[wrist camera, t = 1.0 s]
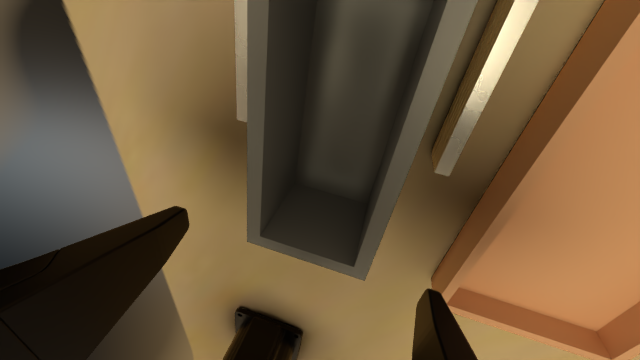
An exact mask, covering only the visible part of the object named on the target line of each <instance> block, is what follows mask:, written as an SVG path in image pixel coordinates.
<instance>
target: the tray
mask: <svg viewBox="0 0 640 360" xmlns="http://www.w3.org/2000/svg"><path fill="white" fill-rule="evenodd" d="M431 281H432V289H433V290H436V291H438V292H440V293H441V294H442V296H443V298H444V300H445V301H446V303H447V305H448V307H449V309H450V310H451V312H452V313H454V314H457V315H460V316H463V317H466V318H469V319H472V320H475V321H478V322H481V323H484V324H487V325H490V326H493V327H496V328H499V329H502V330H505V331H508V332H511V333H514V334H517V335H520V336H523V337H526V338H529V339H532V340H535V341H538V342H541V343H544V344H547V345H550V346H553V347H556V348H559V349H562V350H565V351H568V352H571V353H574V354H577V355H580V356H583V357H586V358H589V359H592V360H630V359H632V358H634V357H636V356H637V355H639V354H640V0H605V1H604V3H603V5H602V6H601V8H600V9H599V11H598V13H597V14H596V16H595V17H594V19H593V21H592V22H591V24H590V25H589V27H588V29H587V30H586V32H585V33H584V35H583V37H582V38H581V40H580V41H579V43H578V45H577V46H576V48H575V49H574V51H573V53H572V54H571V56H570V57H569V59H568V61H567V62H566V64H565V65H564V67H563V68H562V70H561V72H560V73H559V75H558V76H557V78H556V80H555V81H554V83H553V84H552V86H551V88H550V89H549V91H548V92H547V94H546V96H545V97H544V99H543V100H542V102H541V104H540V105H539V107H538V108H537V110H536V112H535V113H534V115H533V116H532V118H531V120H530V121H529V123H528V124H527V126H526V128H525V129H524V131H523V132H522V134H521V136H520V137H519V139H518V140H517V142H516V144H515V145H514V147H513V148H512V150H511V152H510V153H509V155H508V156H507V158H506V160H505V161H504V163H503V164H502V166H501V167H500V169H499V171H498V172H497V174H496V175H495V177H494V179H493V180H492V182H491V183H490V185H489V187H488V188H487V190H486V191H485V193H484V195H483V196H482V198H481V199H480V201H479V203H478V204H477V206H476V207H475V209H474V211H473V212H472V214H471V215H470V217H469V219H468V220H467V222H466V223H465V225H464V227H463V228H462V230H461V231H460V233H459V235H458V236H457V238H456V239H455V241H454V243H453V244H452V246H451V247H450V249H449V251H448V252H447V254H446V255H445V257H444V258H443V260H442V262H441V263H440V265H439V266H438V268H437V270H436V271H435V273H434V274H433V276H432V278H431Z"/></svg>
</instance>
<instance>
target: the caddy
mask: <svg viewBox="0 0 640 360" xmlns="http://www.w3.org/2000/svg"><path fill="white" fill-rule="evenodd" d="M477 1H478V0H247V242H250V243H253V244H256V245H259V246H262V247H265V248H268V249H271V250H274V251H277V252H280V253H283V254H286V255H289V256H292V257H295V258H298V259H301V260H304V261H307V262H310V263H313V264H316V265H319V266H322V267H325V268H328V269H331V270H334V271H337V272H340V273H343V274H346V275H349V276H352V277H355V278H358V279H361V280H364V281H365V279H366V276H367V274H368V271H369V269H370V266H371V264H372V261H373V259H374V256H375V254H376V251H377V249H378V247H379V244H380V242H381V239H382V237H383V234H384V232H385V229H386V227H387V224H388V222H389V219H390V217H391V214H392V212H393V209H394V207H395V204H396V202H397V199H398V197H399V194H400V192H401V190H402V187H403V185H404V182H405V180H406V177H407V175H408V172H409V170H410V167H411V165H412V162H413V160H414V157H415V155H416V152H417V150H418V147H419V145H420V142H421V140H422V138H423V135H424V133H425V130H426V128H427V125H428V123H429V120H430V118H431V115H432V113H433V110H434V108H435V105H436V103H437V100H438V98H439V95H440V93H441V90H442V88H443V86H444V83H445V81H446V78H447V76H448V73H449V71H450V68H451V66H452V63H453V61H454V58H455V56H456V53H457V51H458V48H459V46H460V43H461V41H462V38H463V36H464V34H465V31H466V29H467V26H468V24H469V21H470V19H471V16H472V14H473V11H474V9H475V6H476V4H477Z"/></svg>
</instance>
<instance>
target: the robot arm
mask: <svg viewBox="0 0 640 360" xmlns="http://www.w3.org/2000/svg"><path fill="white" fill-rule="evenodd" d="M188 228H189V219H188V213H187V210H186V209H185V208H182V207H179V206H174V207H171V208H168V209H165V210H163V211H160V212H157V213H155V214H152V215H149V216H147V217H144V218H141V219H139V220H136V221H133V222H131V223H128V224H125V225H122V226H120V227H117V228H114V229H112V230H109V231H106V232H104V233H101V234H98V235H95V236H93V237H90V238H88V239H85V240H82V241H79V242H77V243H74V244H71V245H68V246H66V247H63V248H61V249H60V250H55V251H52V252H49V253H47V254H44V255H41V256H39V257H36V258H33V259H30V260H27V261H24V262H22V263H19V264H15V265H12V266H9V267H6V268H4V269H0V360H86V359H87V358H88V357H89V355H90V354H91V353H92V352H93V351H94V349H95V348H96V347H97V346H98V345H99V343H100V342H101V341H102V340H103V339H104V337H105V336H106V335H107V334H108V332H109V331H110V330H111V329H112V328H113V326H114V325H115V324H116V323H117V322H118V320H119V319H120V318H121V317H122V316H123V314H124V313H125V312H126V311H127V310H128V308H129V307H130V306H131V305H132V303H133V302H134V301H135V300H136V298H137V297H138V296H139V295H140V294H141V292H142V291H143V290H144V289H145V288H146V286H147V285H148V284H149V283H150V282H151V280H152V279H153V278H154V277H155V275H156V274H157V273H158V272H159V271H160V269H161V268H162V267H163V266H164V264H165V263H166V262H167V260H168V259H169V257H170V256H171V254H172V253H173V251H174V250H175V248H176V247H177V245H178V244H179V242H180V241H181V239H182V238H183V236H184V235H185V233H186V232H187V230H188ZM235 326H236V335H235V337H234V339H233V341H232V343H231V345H230V346H229V348H228V350H227V352H226V354H225V356H224V358H223V360H297V356H298V352H299V348H300V344H301V339H302V335H303V332H302V331H301V330H299V329H296V328H294V327H291V326H288V325H286V324H283V323H280V322H278V321H275V320H272V319H270V318H267V317H264V316H262V315H259V314H256V313H253V312H251V311H248V310H245V309H243V308H237V310H236V312H235ZM412 360H478V359H477V357H476V356H475V354H474V352H473V350H472V348H471V347H470V345H469V343H468V341H467V339H466V338H465V336H464V334H463V332H462V330H461V329H460V327H459V325H458V323H457V321H456V320H455V318H454V316H453V314H452V312H451V310H450V309H449V307H448V305H447V303H446V301H445V300H444V298H443V296H442V294H441V293H440V292H438V291H436V290H433V289H429V288H428V289H426V290H425V292H424V293H423V295H422V296H421V298H420V300H419V301H418V304H417V308H416V318H415V328H414V339H413V350H412Z"/></svg>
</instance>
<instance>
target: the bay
mask: <svg viewBox="0 0 640 360" xmlns="http://www.w3.org/2000/svg"><path fill="white" fill-rule="evenodd" d="M538 1H539V0H497V3H496V5H495V7H494V10H493V12H492V14H491V16H490V19H489V21H488V23H487V26H486V28H485V30H484V32H483V35H482V37H481V39H480V42H479V44H478V46H477V48H476V51H475V53H474V55H473V57H472V60H471V62H470V64H469V67H468V69H467V71H466V73H465V76H464V78H463V80H462V83H461V85H460V87H459V89H458V92H457V94H456V96H455V99H454V101H453V103H452V105H451V108H450V110H449V112H448V115H447V117H446V119H445V121H444V124H443V126H442V128H441V131H440V133H439V135H438V137H437V140H436V142H435V144H434V147H433V149H432V151H431V154H432V161H433V167H434V173H438V174H441V175H445V176H449V175H450V174H451V172H452V170H453V168H454V166H455V164H456V162H457V160H458V158H459V156H460V154H461V152H462V150H463V148H464V146H465V144H466V142H467V140H468V138H469V136H470V134H471V132H472V130H473V128H474V127H475V125H476V123H477V121H478V119H479V117H480V115H481V113H482V111H483V109H484V107H485V105H486V103H487V101H488V99H489V97H490V95H491V93H492V91H493V89H494V87H495V85H496V83H497V81H498V79H499V78H500V76H501V74H502V72H503V70H504V68H505V66H506V64H507V62H508V60H509V58H510V56H511V54H512V52H513V50H514V48H515V46H516V44H517V42H518V40H519V38H520V36H521V34H522V32H523V31H524V29H525V27H526V25H527V23H528V21H529V19H530V17H531V15H532V13H533V11H534V9H535V7H536V5H537V3H538ZM234 10H235V55H236V100H237V120H240V121H243V122H247V0H234Z"/></svg>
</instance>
